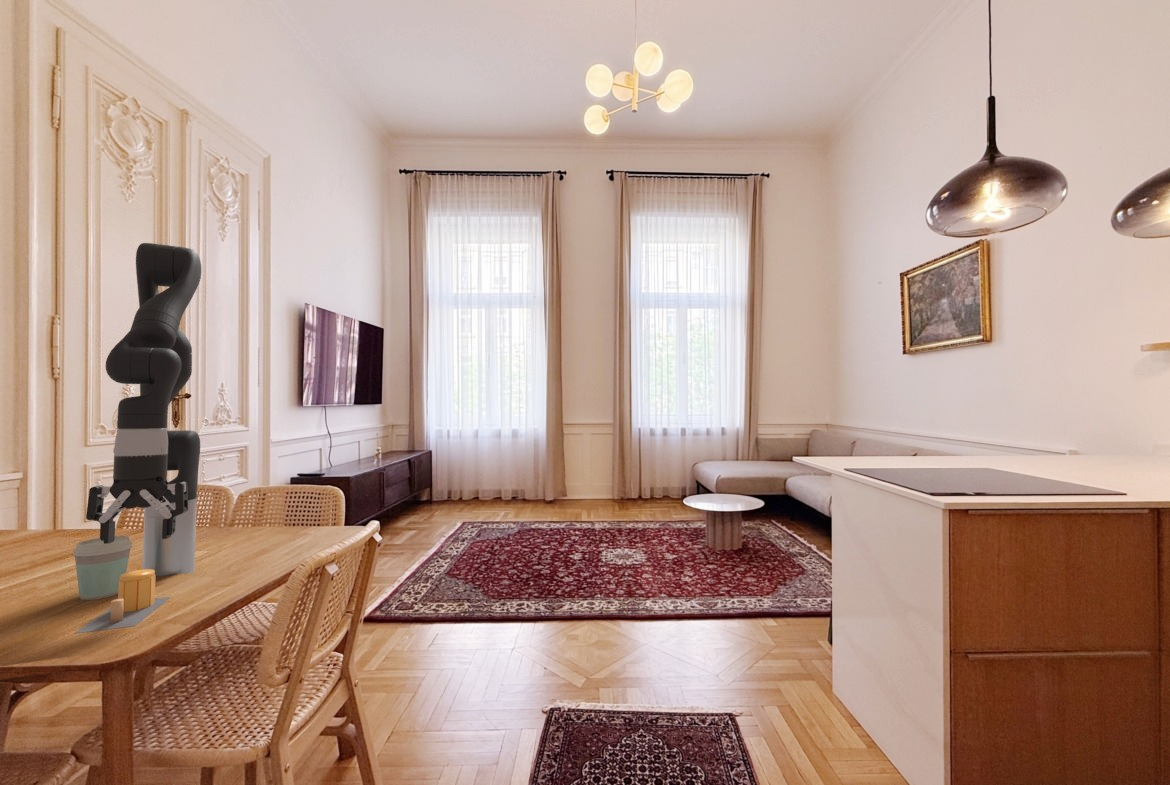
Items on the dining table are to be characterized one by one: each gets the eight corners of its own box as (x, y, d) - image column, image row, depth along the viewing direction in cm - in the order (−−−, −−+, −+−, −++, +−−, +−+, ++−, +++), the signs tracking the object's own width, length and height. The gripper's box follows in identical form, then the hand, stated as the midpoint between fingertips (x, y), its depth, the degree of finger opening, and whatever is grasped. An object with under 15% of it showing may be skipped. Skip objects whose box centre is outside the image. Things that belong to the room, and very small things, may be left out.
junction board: (118, 610, 93) (119, 583, 93) (170, 604, 96) (171, 578, 96) (73, 642, 80) (74, 611, 80) (135, 634, 83) (136, 604, 83)
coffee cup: (126, 590, 104) (128, 533, 104) (134, 600, 98) (136, 539, 99) (67, 602, 97) (70, 541, 98) (72, 614, 92) (75, 548, 92)
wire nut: (126, 603, 93) (127, 571, 93) (158, 599, 95) (159, 568, 95) (113, 613, 88) (114, 579, 89) (146, 609, 90) (147, 575, 90)
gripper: (195, 450, 99) (192, 532, 98) (104, 452, 94) (100, 539, 93) (180, 452, 92) (177, 541, 91) (80, 455, 87) (76, 549, 86)
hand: (138, 540), depth 92 cm, fingers open, 8 cm apart
